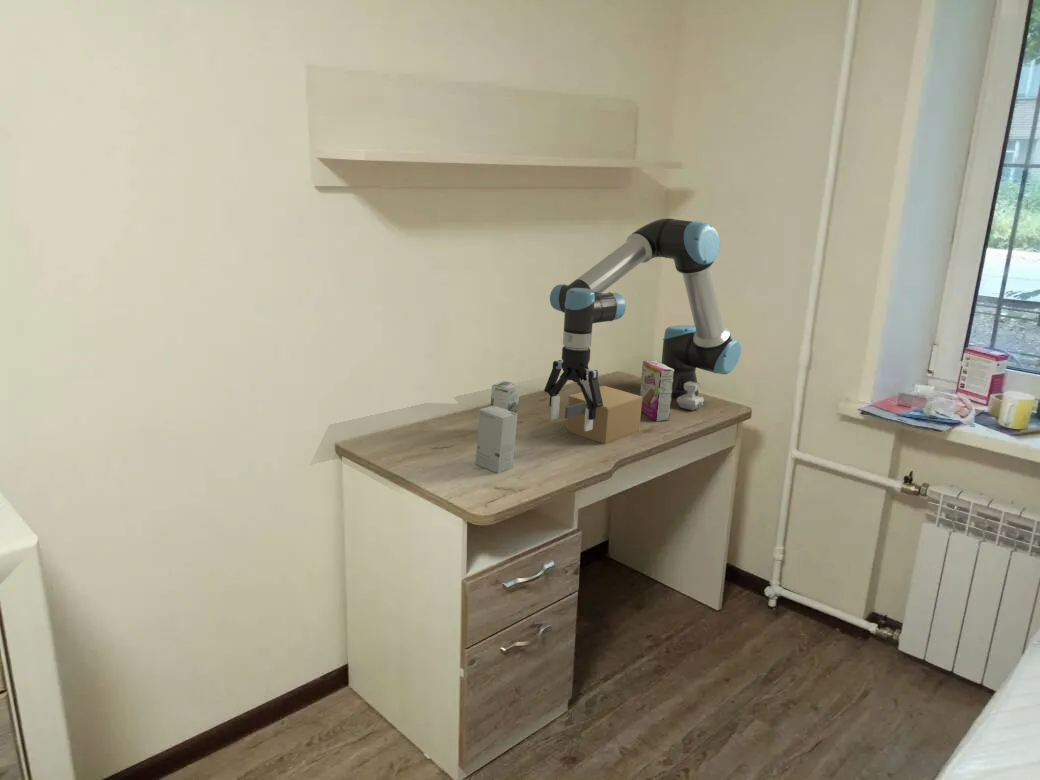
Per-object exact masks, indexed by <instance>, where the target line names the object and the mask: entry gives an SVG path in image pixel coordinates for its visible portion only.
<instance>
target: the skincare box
mask: <svg viewBox="0 0 1040 780" xmlns="http://www.w3.org/2000/svg"><path fill="white" fill-rule="evenodd" d="M478 414H479V415H478V416H479V418H478V426H477V427H478V428H477V439H476V449H475V451H476V453H475V465H476V466H479V467H482V468H484V469H487V470H489V471H492V472H494V473H496V474H500V473H503V472H506V471H508V470H507V469H509V470H511V469H513V467H514V457H515V456H514V455H515V446H516V438H517V437H516V436H517V430H516V427H517V426H518V416H519V415H518V414H519V413H518V414H516V413H513V412H511V411H508V410H506V409H503V408H500V407H497V406H491V405H490V406H488V407H484V408H480V409H479V413H478ZM510 468H511V469H510ZM505 470H506V471H505ZM502 471H503V472H502ZM499 472H500V473H499Z"/></svg>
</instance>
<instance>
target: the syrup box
mask: <svg viewBox="0 0 1040 780" xmlns="http://www.w3.org/2000/svg"><path fill="white" fill-rule="evenodd" d="M490 397H491V398H490V400H491V401H490V407H491V406H497V407H500V408H503V409H506V410H508V411H511V412H513V413H516V414H519V413H518V412H519V398H520V384H517V383H515V382H511V381H507V380H506V381H505V380H502V381H500V382H498V383H494V384H493V385H491V395H490ZM517 430H518V429H517V427H516V431H517Z"/></svg>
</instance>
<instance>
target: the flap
mask: <svg viewBox="0 0 1040 780" xmlns="http://www.w3.org/2000/svg"><path fill="white" fill-rule="evenodd" d="M599 388H600V392H601V397H602V402H603V406H601V407H600V408H603V409H607V410H608V409H611V408H614V407H617V406H620V405H624V404H627V403H630V402H633V401H636V400H639V399H642V396H640V395H638V394H634V393H631V392H627V391H624V390H620V389H618V388H613V387H610V386H606V385H601V386H599ZM569 398H571V399H575V400H578V401H581V403H578V404H574V405H571V406H569V405H568V406H566V407H564V419H567V420H568V418H571V417H574V416H577V415H581V414H584V413H585V411H586V408H587V407H588V405H587V402H586V400H585V398H584V395H583V393H582V391H581V392H580V391H579V392H577V393H574V394H573V393H572V394H569V395H568V399H569Z"/></svg>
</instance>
